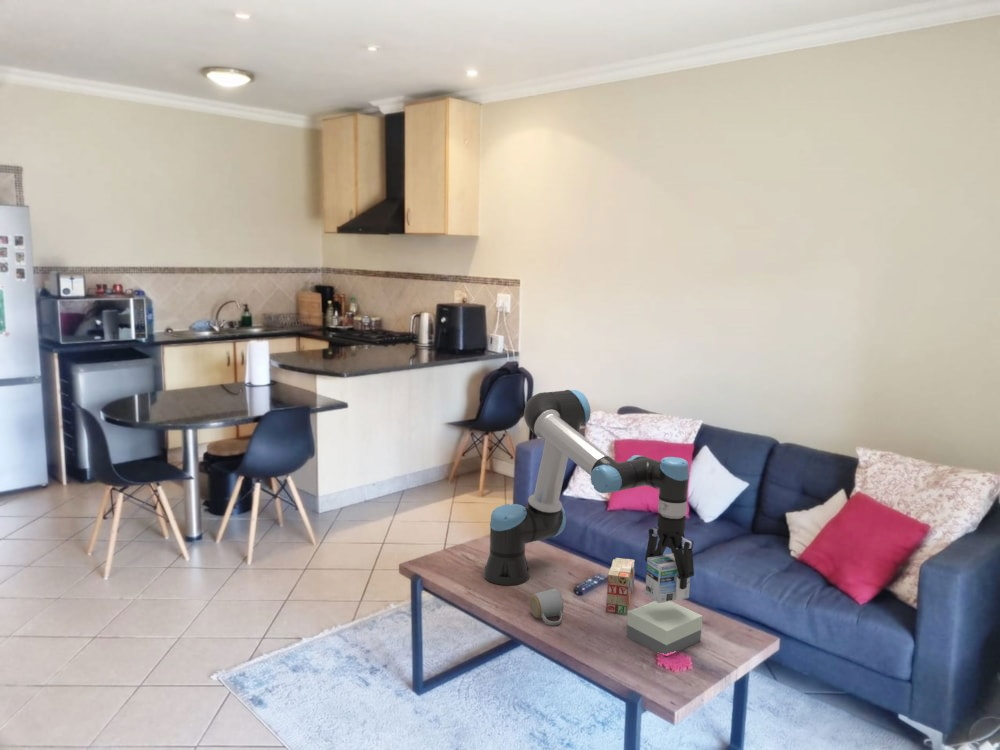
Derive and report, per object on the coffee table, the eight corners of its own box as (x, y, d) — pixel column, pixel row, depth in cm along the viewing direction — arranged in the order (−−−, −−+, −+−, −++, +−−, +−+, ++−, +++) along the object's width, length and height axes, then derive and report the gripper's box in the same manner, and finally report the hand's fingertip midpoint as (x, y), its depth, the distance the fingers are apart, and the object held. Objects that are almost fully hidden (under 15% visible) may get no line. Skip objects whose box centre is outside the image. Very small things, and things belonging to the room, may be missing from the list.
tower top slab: (627, 624, 210) (627, 611, 210) (662, 610, 219) (663, 597, 219) (666, 645, 199) (667, 631, 199) (701, 629, 208) (702, 615, 208)
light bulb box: (658, 604, 202) (660, 566, 201) (643, 594, 209) (646, 557, 207) (690, 597, 207) (692, 560, 205) (675, 588, 213) (677, 552, 211)
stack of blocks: (614, 584, 246) (616, 548, 244) (634, 586, 244) (635, 550, 242) (606, 612, 225) (607, 573, 223) (627, 615, 224) (629, 576, 222)
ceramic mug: (527, 612, 224) (528, 588, 222) (551, 608, 227) (552, 584, 226) (544, 629, 214) (545, 604, 213) (569, 624, 218) (570, 599, 216)
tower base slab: (626, 638, 211) (627, 624, 210) (660, 623, 220) (661, 610, 219) (666, 659, 200) (666, 645, 199) (700, 642, 209) (701, 629, 209)
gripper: (634, 507, 210) (630, 584, 213) (694, 527, 194) (689, 610, 197) (651, 502, 215) (647, 578, 218) (711, 522, 199) (706, 603, 202)
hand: (667, 593), depth 208 cm, fingers closed on light bulb box, 8 cm apart
